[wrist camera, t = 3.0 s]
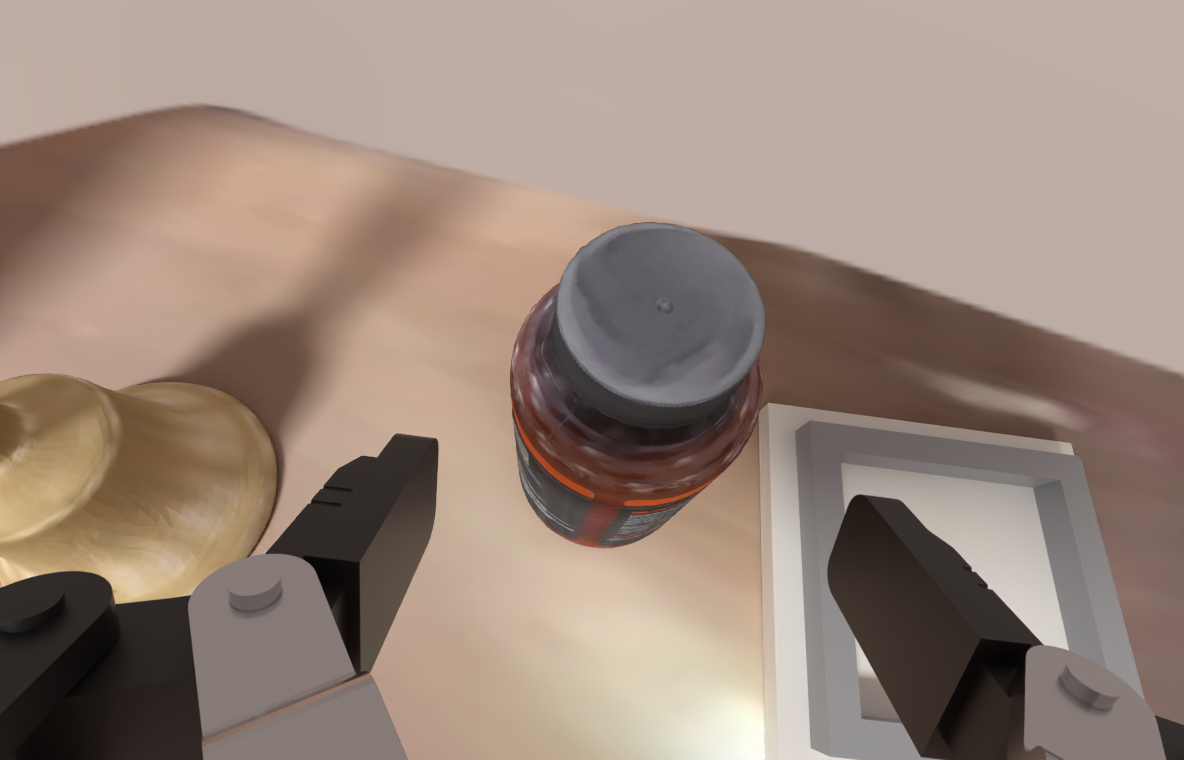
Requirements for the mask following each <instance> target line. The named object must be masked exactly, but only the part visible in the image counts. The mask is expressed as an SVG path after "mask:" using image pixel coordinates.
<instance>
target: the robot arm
mask: <svg viewBox="0 0 1184 760" xmlns="http://www.w3.org/2000/svg"><path fill="white" fill-rule="evenodd" d="M437 471H438V441H437V439H436V438H428V437H421V436H413V435H405V434H395V435H394V436H393V437H392V439H391V440H390V441H389V443H388V444H387V445H386V446H385V448H384V449H383V450H382V452H381V453H380V454H379V456H378V457H377V458H376V457H368V456H361V457H359V458H357V459H355V460H353V461H351V462H350V463H348V464H346V465H344V466H342V467H340V468H338V469H337V471H336V472H335V473H334V474H333V475H332V476H331V478H330V479H329V480H328V481H327V482H326V484H325V485H324V487H323V489H320V491H319V492H318V493H317V494H316V495H315V496H314V498H313V499H312V500H311V504H308V505H307V506H306V507H305V508H304V509H303V510H302V512H301V513H300V514H299V515H298V516H297V517H296V519H295V520H294V521H293V522H292V523H291V524H290V526H289V527H288V528H287V529H286V530H285V531H284V533H283V534H282V535H281V536H280V537H279V538H278V540H277V541H276V542H275V543H274V544H273V545H272V547H271V548H270V549H269V550H268V551H267V552H266V554H264V555H257V556H252V557H247V558H244V559H241V560H237V561H235V562H232V563H230V564H227V565H225V566H224V567H222V568H220V569H218V570H216V571H215V572H213V573H212V574H210V575H209V576H208V577H206V578H205V579H204V580H203V581H202V582H201V583H200V584H199V585H198V586H197V587H196V588H195V590H194V591H193V593H192V595H188V596H182V597H175V598H166V599H157V600H148V601H139V602H130V603H121V604H115V600H114V595H113V590H112V587H111V584H110V583H109V582H108V581H107V580H106V579H105V578H104V577H102V576H100V575H97V574H94V573H91V572H84V571H63V572H54V573H48V574H42V575H38V576H34V577H30V578H27V579H24V580H20V581H17V582H14V583H12V584H9V585H7V586H4V587H1V588H0V760H408V758H407V756H406V754H405V751H404V749H403V746H402V744H401V742H400V739H399V737H398V734H397V732H396V730H395V727H394V725H393V722H392V720H391V718H390V715H389V713H388V711H387V708H386V706H385V703H384V701H383V699H382V696H381V694H380V691H379V689H378V687H377V685H376V683H375V681H374V679H373V677H372V676H371V674H370V672H371V670H372V667H373V665H374V663H375V661H376V658H377V656H378V654H379V652H380V650H381V647H382V645H383V643H384V641H385V638H386V636H387V634H388V632H389V629H390V627H391V625H392V623H393V621H394V618H395V616H396V614H397V612H398V609H399V607H400V605H401V603H402V600H403V598H404V596H405V594H406V592H407V589H408V587H409V585H410V583H411V580H412V578H413V576H414V574H415V571H416V569H417V567H418V565H419V563H420V560H421V558H422V556H423V554H424V551H425V549H426V547H427V545H428V542H429V540H430V536H431V533H432V529H433V524H434V519H435V511H436V492H437ZM827 579H828V585H829V589H830V592H831V594H832V596H833V598H834V599H835V601H836V603H837V605H838V607H839V609H840V610H841V612H842V614H843V616H844V618H845V619H846V621H847V623H848V625H849V627H850V629H851V630H852V632H853V634H854V636H855V638H856V640H857V641H858V643H859V645H860V647H861V649H862V651H863V652H864V654H865V656H866V658H867V660H868V662H869V663H870V665H871V667H872V669H873V671H874V673H875V674H876V676H877V678H878V680H879V682H880V683H881V685H882V687H883V689H884V691H885V693H886V694H887V696H888V698H889V700H890V702H891V704H892V705H893V707H894V709H895V711H896V713H897V715H898V716H899V718H900V720H901V722H902V724H903V726H904V727H905V729H906V731H907V733H908V735H909V737H910V738H911V740H912V742H913V744H914V746H915V747H916V749H917V751H918V753H919V755H920V757H924V758H933V759H942V760H1184V725H1181V724H1178V723H1176V722H1173V721H1170V720H1167V719H1164V718H1161V717H1158V716H1155V715H1154V713H1153V712H1152V710H1151V708H1150V707H1149V705H1148V704H1147V703H1146V702H1145V701H1144V699H1143V698H1142V697H1141V696H1140V695H1139V694H1138V693H1137V692H1136V691H1135V690H1134V689H1133V688H1131V687H1130V686H1129V685H1128V684H1127V683H1126V682H1124V681H1123V680H1122V679H1120V678H1119V677H1118V676H1116V675H1115V674H1113V673H1112V672H1110V671H1109V670H1107V669H1106V668H1104V667H1102V666H1101V665H1099V664H1097V663H1096V662H1094V661H1092V660H1090V659H1088V658H1086V657H1084V656H1081V655H1079V654H1077V653H1074V652H1071V651H1069V650H1066V649H1062V648H1058V647H1054V646H1048V645H1043V643H1042V642H1041V641H1040V640H1039V639H1038V638H1037V637H1036V636H1035V635H1034V634H1033V633H1032V632H1031V631H1030V630H1029V628H1028V627H1027V626H1026V625H1025V624H1024V623H1023V622H1022V621H1021V620H1020V619H1019V618H1018V617H1017V616H1016V614H1015V613H1014V612H1013V611H1012V610H1011V609H1010V608H1009V607H1008V606H1007V605H1006V604H1005V603H1004V602H1003V601H1002V599H1001V598H1000V597H999V596H998V595H997V594H996V593H995V592H994V591H993V590H992V589H988V584H987V583H986V582H985V581H984V580H983V579H982V578H981V577H980V576H979V575H978V574H977V573H976V572H973V571H972V567H971V566H970V565H969V564H968V563H967V562H966V561H965V560H964V559H963V558H962V557H961V555H960V554H959V553H958V552H957V551H956V550H955V549H954V548H953V547H952V546H950V545H949V544H947V543H946V542H945V541H943V540H942V539H940V538H939V537H937V536H936V535H935V534H933V533H932V532H930V531H929V530H928V529H927V528H926V527H925V526H924V525H923V524H922V523H921V521H920V520H919V519H918V518H917V517H916V516H915V515H914V514H913V513H912V512H911V510H910V509H909V508H908V507H907V506H906V505H905V504H904V503H903V502H902V501H900V500H898V499H893V498H885V497H877V496H870V495H862V494H858V495H856V496H854V497H853V498H852V499H851V501H850V502H849V505H848V507H847V510H846V513H845V516H844V518H843V521H842V524H841V527H840V530H839V532H838V535H837V538H836V541H835V544H834V546H833V549H832V552H831V555H830V558H829V561H828V568H827Z"/></svg>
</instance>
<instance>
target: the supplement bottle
mask: <svg viewBox="0 0 1184 760" xmlns="http://www.w3.org/2000/svg"><path fill="white" fill-rule="evenodd" d="M765 322H766V317H765V308H764V304H763V300H762V297H761V295H760V292H759V290H758V287H757V285H756V282H755V280H754V279H753V278H752V276H751V275H750V273H749V272H748V270H747V269H746V268H745V266H744V265H743V264H742V263H741V261H740V260H739V259H738V258H737V257H735V256H734V255H733V253H732V252H731V251H729V250H728V249H727V248H725V247H724V246H723V245H721V244H720V243H718V242H716V241H715V240H713V239H712V238H710V237H708V236H706V235H704V234H702V233H699V232H697V231H695V230H693V229H689V228H685V227H682V226H678V225H674V224H667V223H656V222H644V223H633V224H630V225H624V226H618V227H616V228H614V229H611V230H609V231H607V232H605V233H603V234H601V235H600V236H598V237H596V238H595V239H593V240H592V241H590V242H589V243H588V244H587V245H586V246H583V247H581V248H580V249H579V251H578V252H577V254H576V256H575V257H574V258H573V259H572V260H571V261H570V262H569V264H568V266H567V267H566V269H565V271H564V273H563V275H562V277H561V281H560V283H559V284H557V285H556V286H554V287H553V288H552V289H551V290H550V291H549V292H548V293H546V294H545V295H544V296H543V297H542V298H541V299H540V301H539V302H538V303H537V304H535V305H534V306H533V308H532V309H531V311H530V313H529V314H528V316H527V317H526V319H525V321H524V323H523V325H522V327H521V329H520V331H519V334H518V336H517V339H516V342H515V345H514V350H513V355H512V360H511V370H510V387H511V399H512V416H513V422H514V431H515V439H516V450H517V457H518V467H519V475H520V479H521V483H522V487H523V490H524V492H525V495H526V497H527V500H528V502H529V504H530V505H531V507H532V508H533V510H534V511H535V513H536V514H537V516H538V517H539V518H540V519H541V520H542V521H543V523H544V524H545V525H546V526H547V527H548V528H550V529H551V530H552V531H554V532H555V533H557V534H558V535H560V536H562V537H563V538H565V539H567V540H569V541H572V542H574V543H577V544H580V545H584V546H588V547H595V548H615V547H619V546H624V545H628V544H631V543H634V542H636V541H639V540H641V539H643V538H644V537H646V536H648V535H650V534H651V533H653V532H654V531H656V530H657V529H659V528H660V527H661V526H662V525H663V524H664V523H666V522H667V521H668V520H669V519H670V518H671V517H672V516H674V515H675V514H676V513H677V512H678V511H679V510H680V509H682V508H683V507H684V506H685V505H686V504H687V503H688V502H690V501H691V500H692V499H693V498H694V497H695V496H696V495H698V494H699V493H700V492H701V491H702V490H703V489H705V488H706V487H707V486H708V485H709V484H710V483H711V482H712V481H713V480H714V479H716V478H717V477H718V476H719V475H720V474H721V473H722V472H724V471H725V470H726V469H727V468H728V467H729V466H730V465H731V463H732V462H733V461H734V460H735V459H736V458H737V457H738V455H739V454H740V452H741V451H742V449H743V447H744V446H745V444H746V443H747V442H748V440H749V438H750V436H751V434H752V432H753V429H754V427H755V424H756V421H757V418H758V414H759V411H760V405H761V399H762V391H763V385H762V369H761V366H760V360H759V354H760V351H761V349H762V345H763V341H764V335H765V330H766V325H765Z"/></svg>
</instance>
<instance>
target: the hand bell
mask: <svg viewBox="0 0 1184 760" xmlns="http://www.w3.org/2000/svg"><path fill="white" fill-rule="evenodd" d="M276 487H277V462H276V456H275V451H274V448H273V445H272V441H271V438H270V435H269V434H268V432H267V429H266V428H265V427H264V426H263V424H262V423H261V421H260V420H259V418H258V417H257V416H256V415H255V414H254V413H253V412H252V411H251V410H250V409H249V408H248V407H247V406H245V405H244V404H243V403H242V402H240V401H239V400H237V399H236V398H234V397H233V396H231V395H229V394H227V393H225V392H223V391H220V390H218V389H215V388H212V387H208V386H204V385H199V384H193V383H185V382H157V383H147V384H141V385H136V386H131V387H127V388H123V389H120V390H117V391H112V390H109V389H106V388H104V387H101V386H98V385H96V384H94V383H92V382H89V381H87V380H84V379H81V378H77V377H73V376H68V375H61V374H32V375H24V376H18V377H14V378H10V379H7V380H4V381H1V382H0V581H1V583H2V585H3V586H7V585H9V584H12V583H14V582H17V581H20V580H24V579H27V578H30V577H34V576H38V575H42V574H48V573H54V572H63V571H84V572H91V573H94V574H97V575H100V576H102V577H104V578H105V579H106V580H107V581H108V582H109V583H110V584H111V587H112V590H113V595H114V600H115V604H121V603H130V602H139V601H148V600H157V599H166V598H175V597H182V596H188V595H192V593H193V591H194V590H195V588H196V587H197V586H198V585H199V584H200V583H201V582H202V581H203V580H204V579H205V578H206V577H208V576H209V575H210V574H212V573H213V572H215V571H216V570H218V569H220V568H222V567H224V566H225V565H227V564H230V563H232V562H235V561H237V560H241V559H244V558H247V556H248V555H249V554H250V552H251V551H252V549H253V548H254V546H255V545H256V543H257V541H258V539H259V538H260V536H261V534H262V532H263V530H264V528H265V526H266V524H267V521H268V519H269V517H270V515H271V511H272V508H273V504H274V499H275V495H276Z"/></svg>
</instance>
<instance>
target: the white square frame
mask: <svg viewBox="0 0 1184 760" xmlns="http://www.w3.org/2000/svg"><path fill="white" fill-rule="evenodd" d="M759 458H760V507H761V556H762V605H763V654H764V703H765V752H766V760H942V759H933V758H924V757H920V755H919V753H918V751H917V749H916V747H915V746H914V744H913V742H912V740H911V738H910V737H909V735H908V733H907V731H906V729H905V727H904V726H903V724H902V722H901V720H900V718H899V716H898V715H897V713H896V711H895V709H894V707H893V705H892V704H891V702H890V700H889V698H888V696H887V694H886V693H885V691H884V689H883V687H882V685H881V683H880V682H879V680H878V678H877V676H876V674H875V673H874V671H873V669H872V667H871V665H870V663H869V662H868V660H867V658H866V656H865V654H864V652H863V651H862V649H861V647H860V645H859V643H858V641H857V640H856V638H855V636H854V634H853V632H852V630H851V629H850V627H849V625H848V623H847V621H846V619H845V618H844V616H843V614H842V612H841V610H840V609H839V607H838V605H837V603H836V601H835V599H834V598H833V596H832V594H831V592H830V589H829V585H828V579H827V568H828V561H829V558H830V555H831V552H832V549H833V546H834V544H835V541H836V538H837V535H838V532H839V530H840V527H841V524H842V521H843V518H844V516H845V513H846V510H847V507H848V505H849V502H850V501H851V499H852V498H853V497H854V496H856V495H858V494H862V495H870V496H877V497H885V498H893V499H898V500H900V501H902V502H903V503H904V504H905V505H906V506H907V507H908V508H909V509H910V510H911V512H912V513H913V514H914V515H915V516H916V517H917V518H918V519H919V520H920V521H921V523H922V524H923V525H924V526H925V527H926V528H927V529H928V530H929V531H930V532H932V533H933V534H935V535H936V536H937V537H939V538H940V539H942V540H943V541H945V542H946V543H947V544H949V545H950V546H952V547H953V548H954V549H955V550H956V551H957V552H958V553H959V554H960V555H961V557H962V558H963V559H964V560H965V561H966V562H967V563H968V564H969V565H970V566H971V567H972V571H973V572H976V573H977V574H978V575H979V576H980V577H981V578H982V579H983V580H984V581H985V582H986V583H987V584H988V589H992V590H993V591H994V592H995V593H996V594H997V595H998V596H999V597H1000V598H1001V599H1002V601H1003V602H1004V603H1005V604H1006V605H1007V606H1008V607H1009V608H1010V609H1011V610H1012V611H1013V612H1014V613H1015V614H1016V616H1017V617H1018V618H1019V619H1020V620H1021V621H1022V622H1023V623H1024V624H1025V625H1026V626H1027V627H1028V628H1029V630H1030V631H1031V632H1032V633H1033V634H1034V635H1035V636H1036V637H1037V638H1038V639H1039V640H1040V641H1041V642H1042V643H1043V645H1048V646H1054V647H1058V648H1062V649H1066V650H1069V651H1071V652H1074V653H1077V654H1079V655H1081V656H1084V657H1086V658H1088V659H1090V660H1092V661H1094V662H1096V663H1097V664H1099V665H1101V666H1102V667H1104V668H1106V669H1107V670H1109V671H1110V672H1112V673H1113V674H1115V675H1116V676H1118V677H1119V678H1120V679H1122V680H1123V681H1124V682H1126V683H1127V684H1128V685H1129V686H1130V687H1131V688H1133V689H1134V690H1135V691H1136V692H1137V693H1138V694H1139V695H1140V696H1141V697H1142V698H1143V699H1144V695H1143V691H1142V688H1141V684H1140V680H1139V676H1138V672H1137V669H1136V665H1135V661H1134V657H1133V653H1132V650H1131V646H1130V642H1129V638H1128V634H1127V631H1126V627H1125V623H1124V619H1123V615H1122V612H1121V608H1120V604H1119V600H1118V596H1117V593H1116V589H1115V585H1114V581H1113V578H1112V574H1111V570H1110V566H1109V562H1108V559H1107V555H1106V551H1105V547H1104V543H1103V540H1102V536H1101V532H1100V528H1099V524H1098V521H1097V517H1096V513H1095V509H1094V505H1093V502H1092V498H1091V494H1090V490H1089V486H1088V483H1087V479H1086V475H1085V471H1084V467H1083V464H1082V460H1081V456H1075V455H1074V453H1073V449H1072V445H1071V443H1066V442H1058V441H1051V440H1043V439H1036V438H1028V437H1021V436H1014V435H1006V434H999V433H991V432H984V431H976V430H969V429H961V428H954V427H946V426H939V425H931V424H924V423H917V422H909V421H902V420H894V419H887V418H879V417H872V416H864V415H857V414H849V413H842V412H834V411H827V410H820V409H812V408H805V407H797V406H790V405H782V404H775V403H767V404H766V405H765V406H764V407H763V408H762V409H761V410H760V411H759ZM1144 701H1145V699H1144Z"/></svg>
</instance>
